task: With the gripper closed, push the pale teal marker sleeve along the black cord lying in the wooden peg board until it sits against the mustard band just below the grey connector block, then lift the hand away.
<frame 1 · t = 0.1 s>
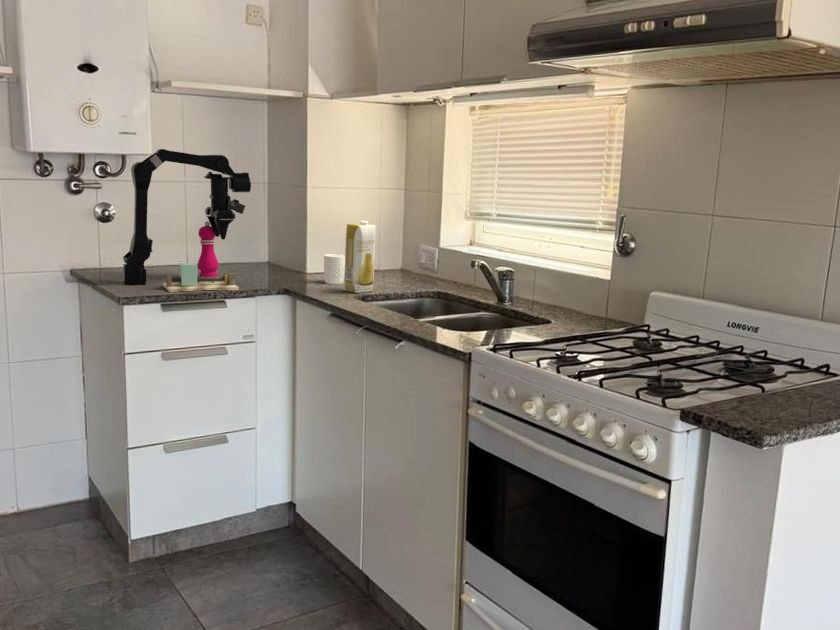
hand: (220, 238, 273), 15 cm above the countertop, fingers open, 8 cm apart
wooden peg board: (200, 288, 261), on the countertop
pepper mill: (208, 278, 281), on the countertop, touching gripper
juice carton: (358, 291, 270), on the countertop
white cup: (334, 283, 285), on the countertop
sleeve: (188, 274, 258), point 5 cm above the countertop, slide at 0.0 cm
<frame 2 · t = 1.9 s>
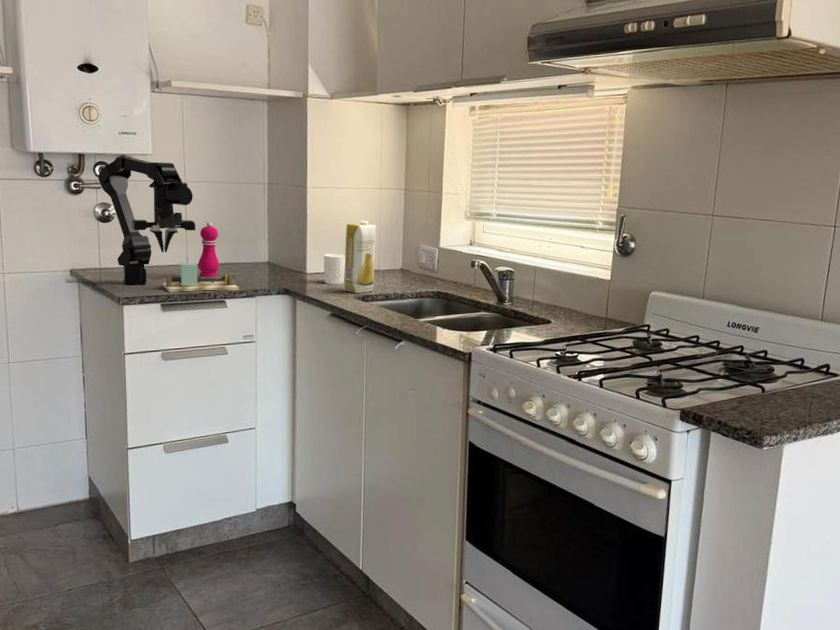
hand: (164, 252, 253), 12 cm above the countertop, fingers closed
pepper mill: (208, 278, 281), on the countertop
everything else where it was.
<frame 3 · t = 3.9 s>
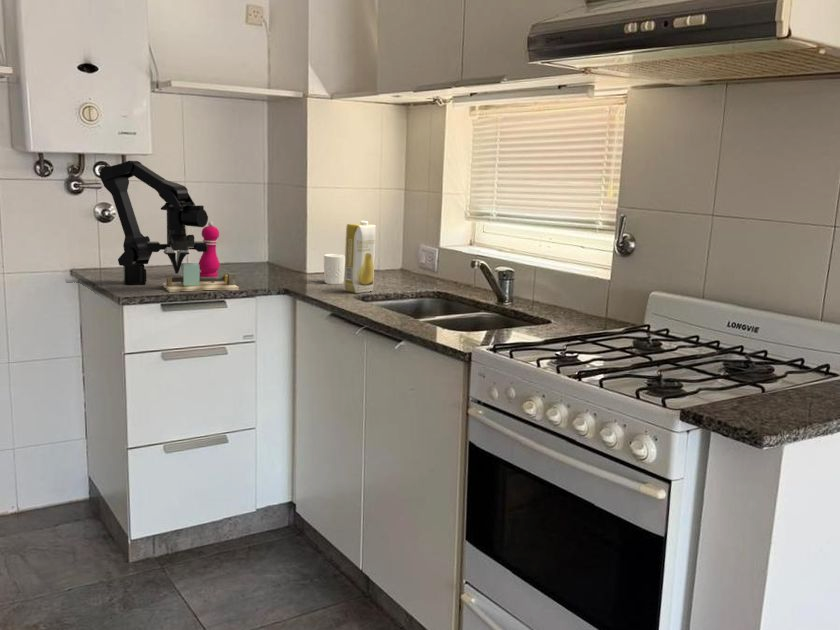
hand: (176, 273, 256), 5 cm above the countertop, fingers closed
sleeve: (190, 274, 258), point 5 cm above the countertop, slide at 0.7 cm, touching gripper
everything else where it was.
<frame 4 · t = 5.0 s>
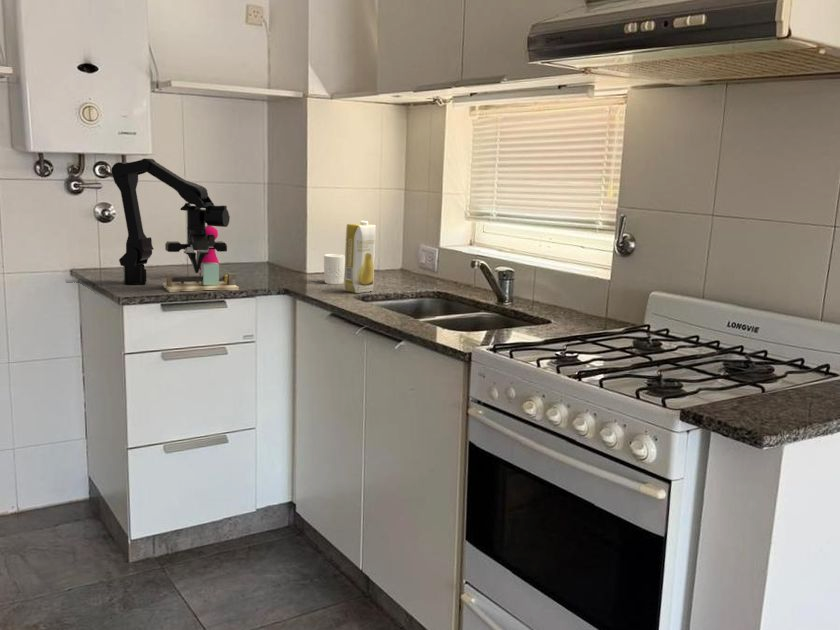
hand: (196, 272, 259), 5 cm above the countertop, fingers closed
sleeve: (209, 273, 261), point 5 cm above the countertop, slide at 7.0 cm, touching gripper
everything else where it was.
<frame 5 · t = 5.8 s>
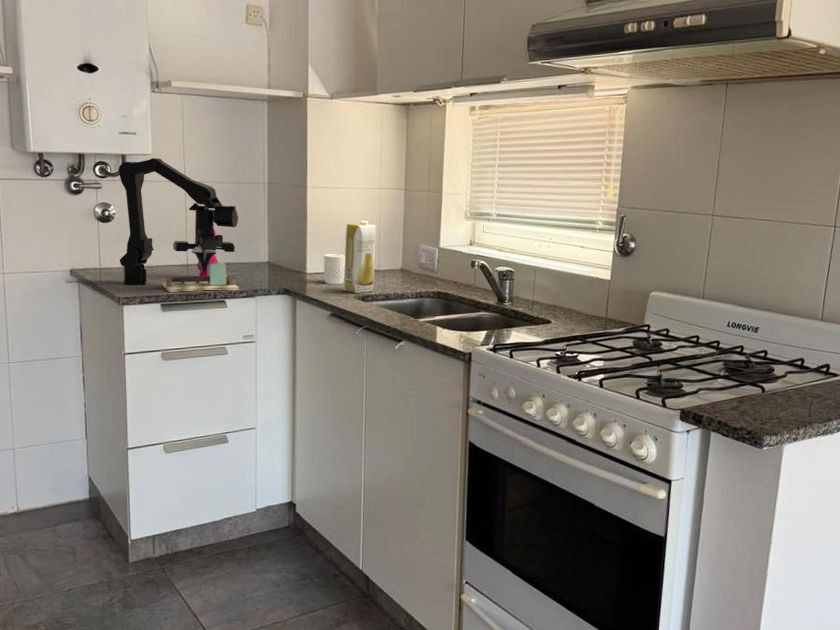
hand: (203, 272, 260), 5 cm above the countertop, fingers closed
sleeve: (216, 273, 262), point 5 cm above the countertop, slide at 9.2 cm, touching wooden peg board, gripper
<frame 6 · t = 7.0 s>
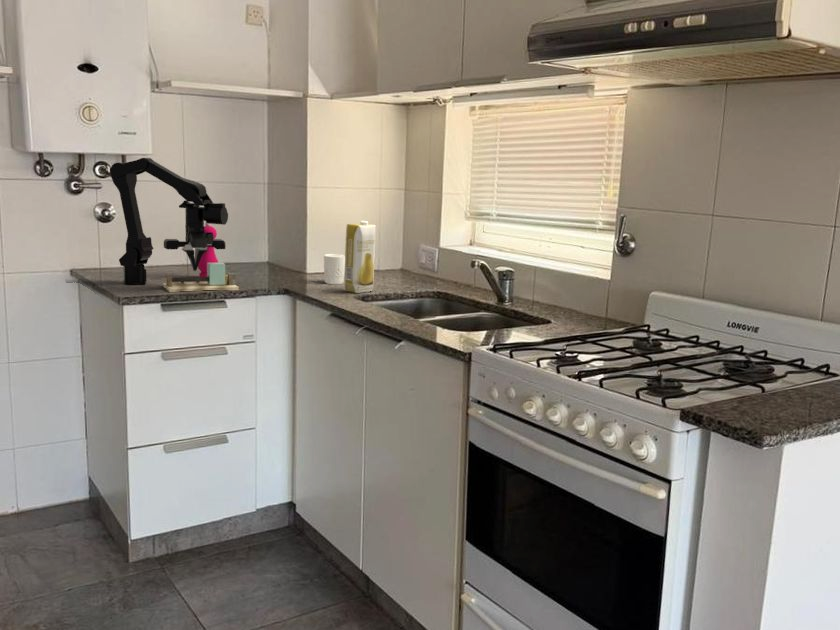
hand: (194, 270, 259), 6 cm above the countertop, fingers closed
sleeve: (216, 273, 262), point 5 cm above the countertop, slide at 9.1 cm
everything else where it was.
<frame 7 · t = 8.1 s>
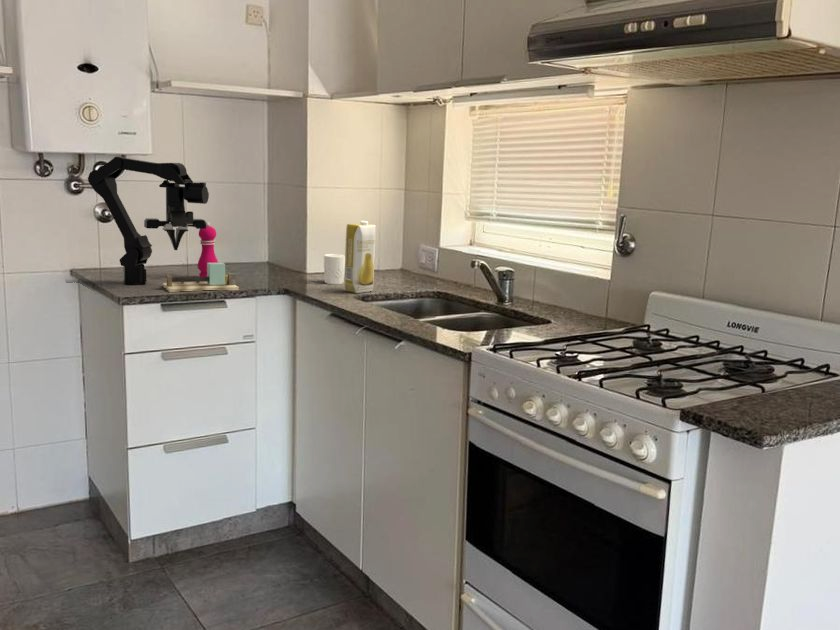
hand: (175, 250, 259), 12 cm above the countertop, fingers closed
nothing on the countertop moved.
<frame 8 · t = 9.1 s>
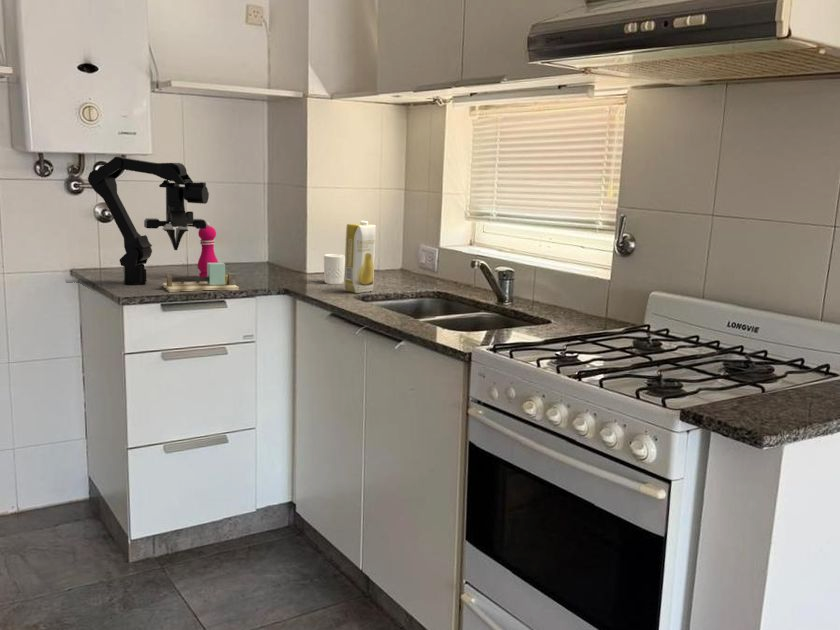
hand: (175, 250, 259), 12 cm above the countertop, fingers closed
nothing on the countertop moved.
at the end: sleeve slide at 9.1 cm; sleeve 0.6 cm from the target spot, resting on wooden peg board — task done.
